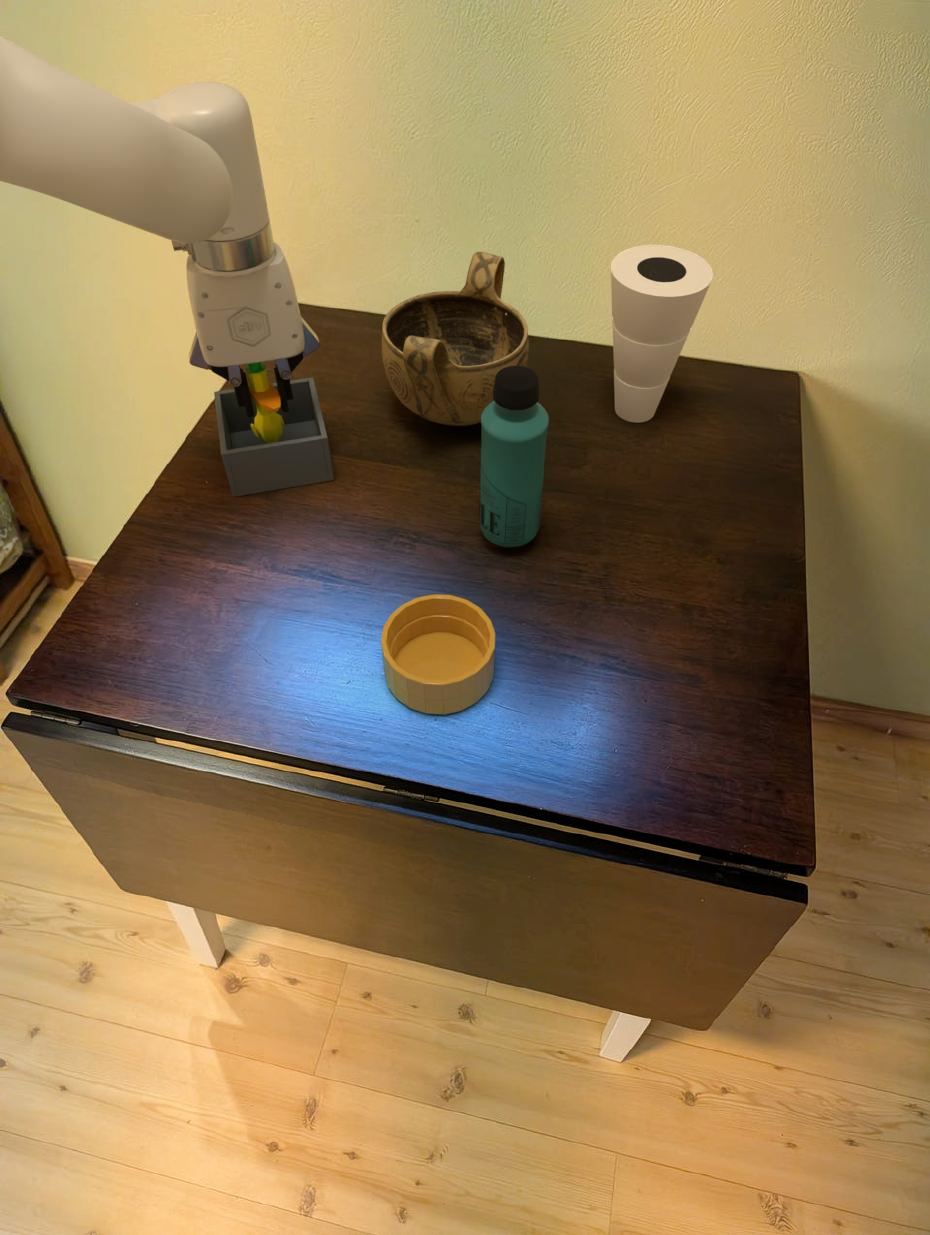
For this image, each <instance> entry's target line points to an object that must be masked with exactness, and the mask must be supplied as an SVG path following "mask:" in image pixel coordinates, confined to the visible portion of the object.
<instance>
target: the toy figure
mask: <svg viewBox="0 0 930 1235" xmlns="http://www.w3.org/2000/svg"><path fill="white" fill-rule="evenodd" d="M245 373H246V377H247V381H248V386H249V392H250V395H251V396H252V398H253V399H254V402H255V404H256V407H257V415H256V417H255V418H254V421H255V425H254V424H250V425H251V429H252V431H253V433H254V434H255V436H257V437H259V438H261V439H262V440H263V441H265V442H266V443H267V444H269V443H276V442H279V441H278V440H279V439H280V437H281V435H282V434H283V429H282V426H283V427H284V428H285V426H284V422H283V419H282V415H279V414H277V413H276V412H277V411H278V410H279V408H280V405H281V400H280V396H279V393H278V391H277V390H276V388H275V387H274V386H273V384H272V383H273V382H270V381H269V375H268V371H267V365H266V364H265V363H264V362H258V363H251V364H247V366H246V367H245Z"/></svg>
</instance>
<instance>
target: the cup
mask: <svg viewBox="0 0 930 1235" xmlns="http://www.w3.org/2000/svg"><path fill="white" fill-rule="evenodd" d="M713 278H714V271H713V268H712V266H711V265H710V263H709V262H708V261H707V260H706V259H704V258H703V257H702V256H700V255H698V254H697V253H695V252H693V251H690V250H689V249H685V248H683V247H677V246H673V245H667V244H641V245H635V246H632V247H629V248H627V249H624V250H622V251H621V252H619V253H617V254H616V255H615V256H614V257H613V259H612V261H611V263H610V290H611V291H610V293H611V317H612V349H613V350H612V351H613V352H612V353H613V366H614V368H613V387H614V388H613V392H614V393H613V395H614V412H615V414H616V415H617V417H619V418H620V419H622V420H624V421H626V422H629V423H645V422H648V421H650V420H651V419H652V418H654V416H655V414H656V412H657V409H658V407H659V405H660V402H661V400H662V397H663V395H664V393H665V390H666V388H667V386H668V383H669V381H670V378H671V375H672V373H673V371H674V368H675V366H676V365H677V362H678V360H679V357H680V355H681V354H682V353H681V352H682V350H683V348H684V346H685V343H686V341H687V340H688V337H689V335H690V332H691V328H693V325H694V323H695V322H696V318H697V316H698V314H699V311H700V309H701V306H702V305H703V302H704V300H705V297H706V296H707V292H708V290H709V288H710V285H711V284H712V281H713Z"/></svg>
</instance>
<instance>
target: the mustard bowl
mask: <svg viewBox="0 0 930 1235" xmlns="http://www.w3.org/2000/svg"><path fill="white" fill-rule="evenodd" d="M380 646H381V656H382V661H383V663H382V664H383V670H384V671H383V672H384V676H385V681H386V684H387V687H388V689H389V690H390V692H391V693H392V694H393V696H394V697H395V699H397V700H398V701H399V702H401V703H402V704H404V705H405V706H406V707H408V709H411V710H414V711H417V712H419V713H422V714H423V713H424V714H427V715H449V714H453V713H458V712H462V711H464V710H466V709H467V708H469V707H471V706H473V705H475V704H476V703H478V702H479V701H480V699H482V697H483V696H484V695H485V694H487V692H488V691H489V689H490V686H491V684H492V682H493V680H494V673H495V672H494V670H495V655H496V654H495V652H496V631H495V628H494V625H493V622H492V620H491V618H490V617H489V616H488V615H487V613H486V612H485V611H484V610H483V609H482V608H481V607H479V606H478V605H476V604H475V603H473V602H471V600H468V599H466V598H462V597H460V596H456V595H453V594H440V593H439V594H437V593H435V594H434V593H433V594H429V595H423V596H418V597H415V598H413V599H411V600H408V601H407V602H404V603H403V604H401V605H400V606H399V607H398V608H396V609H395V610H394V611H393V612H392V613H391V614H390V615H389V616H388V618H387V619H386V622H385V624H384V625H383V627H382V631H381V638H380Z"/></svg>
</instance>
